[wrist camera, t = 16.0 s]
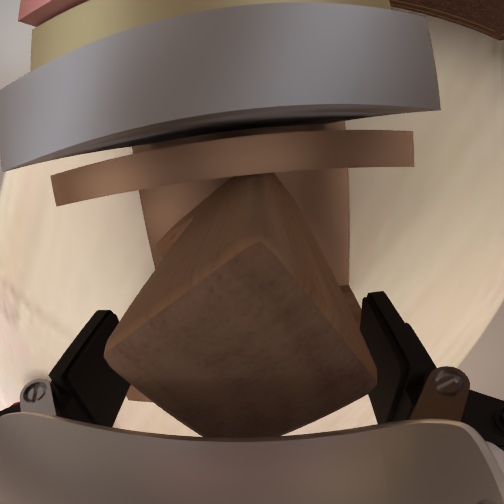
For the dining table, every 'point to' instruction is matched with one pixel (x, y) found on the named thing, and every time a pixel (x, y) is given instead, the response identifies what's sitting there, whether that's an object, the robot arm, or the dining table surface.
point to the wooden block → (243, 320)
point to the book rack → (218, 102)
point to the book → (462, 13)
